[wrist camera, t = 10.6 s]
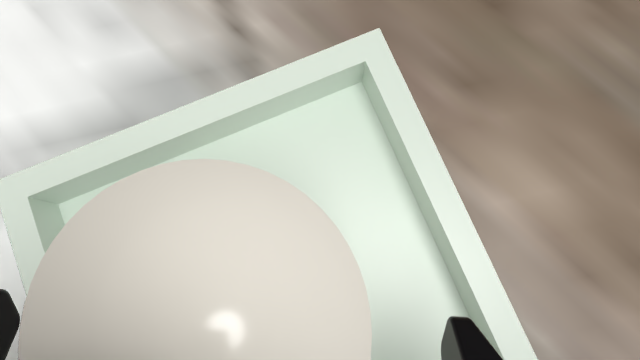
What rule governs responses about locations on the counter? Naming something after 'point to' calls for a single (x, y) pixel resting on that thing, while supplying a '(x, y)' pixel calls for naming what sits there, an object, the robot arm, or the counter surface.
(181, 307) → the canister
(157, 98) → the counter surface
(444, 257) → the tray
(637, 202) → the counter surface
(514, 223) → the counter surface
